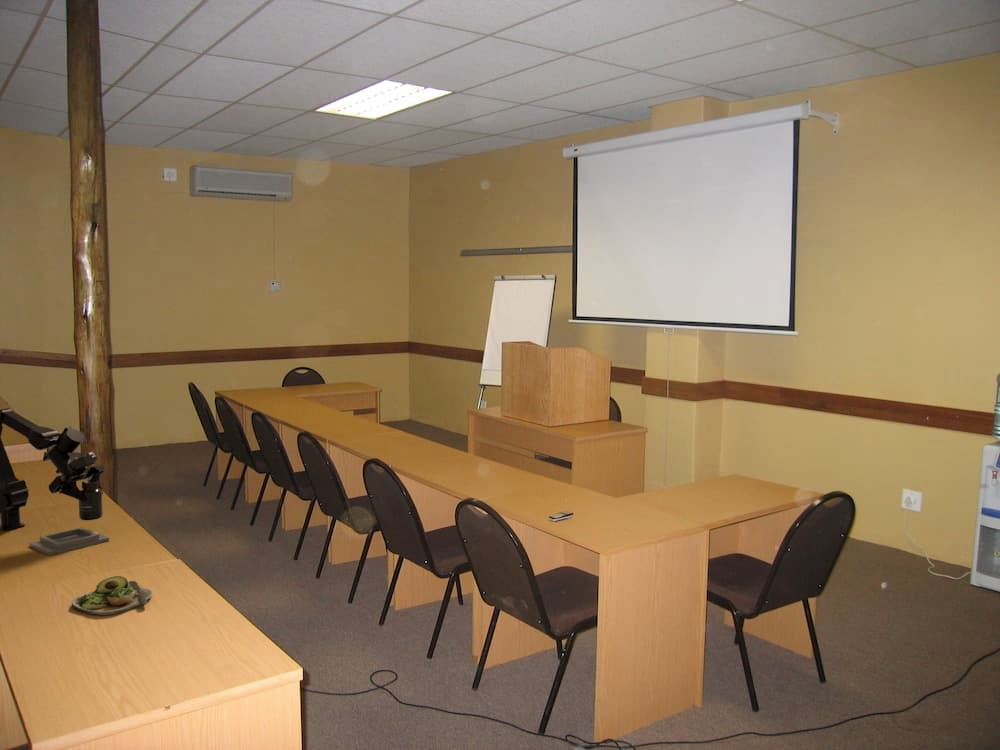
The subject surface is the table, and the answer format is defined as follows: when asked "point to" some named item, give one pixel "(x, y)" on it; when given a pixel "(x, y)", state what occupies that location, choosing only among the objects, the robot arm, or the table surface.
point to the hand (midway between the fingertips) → (93, 498)
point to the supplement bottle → (91, 501)
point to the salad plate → (113, 597)
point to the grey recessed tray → (68, 541)
